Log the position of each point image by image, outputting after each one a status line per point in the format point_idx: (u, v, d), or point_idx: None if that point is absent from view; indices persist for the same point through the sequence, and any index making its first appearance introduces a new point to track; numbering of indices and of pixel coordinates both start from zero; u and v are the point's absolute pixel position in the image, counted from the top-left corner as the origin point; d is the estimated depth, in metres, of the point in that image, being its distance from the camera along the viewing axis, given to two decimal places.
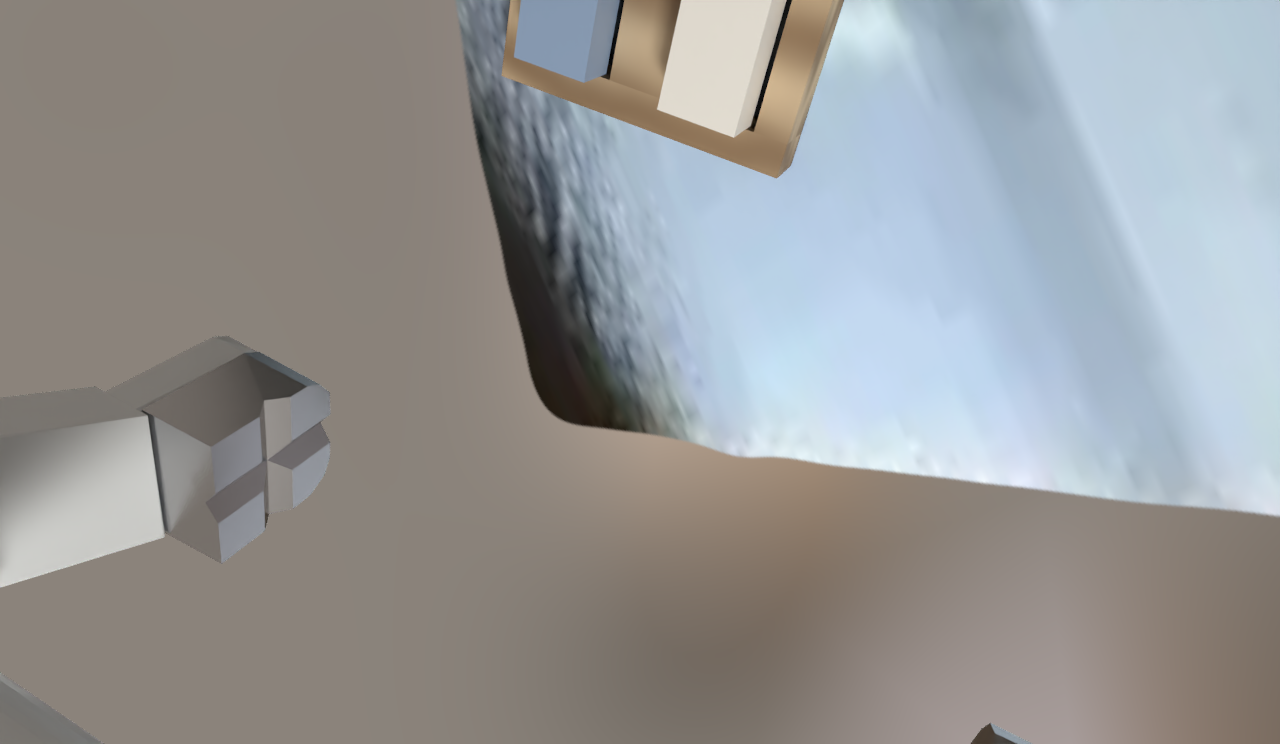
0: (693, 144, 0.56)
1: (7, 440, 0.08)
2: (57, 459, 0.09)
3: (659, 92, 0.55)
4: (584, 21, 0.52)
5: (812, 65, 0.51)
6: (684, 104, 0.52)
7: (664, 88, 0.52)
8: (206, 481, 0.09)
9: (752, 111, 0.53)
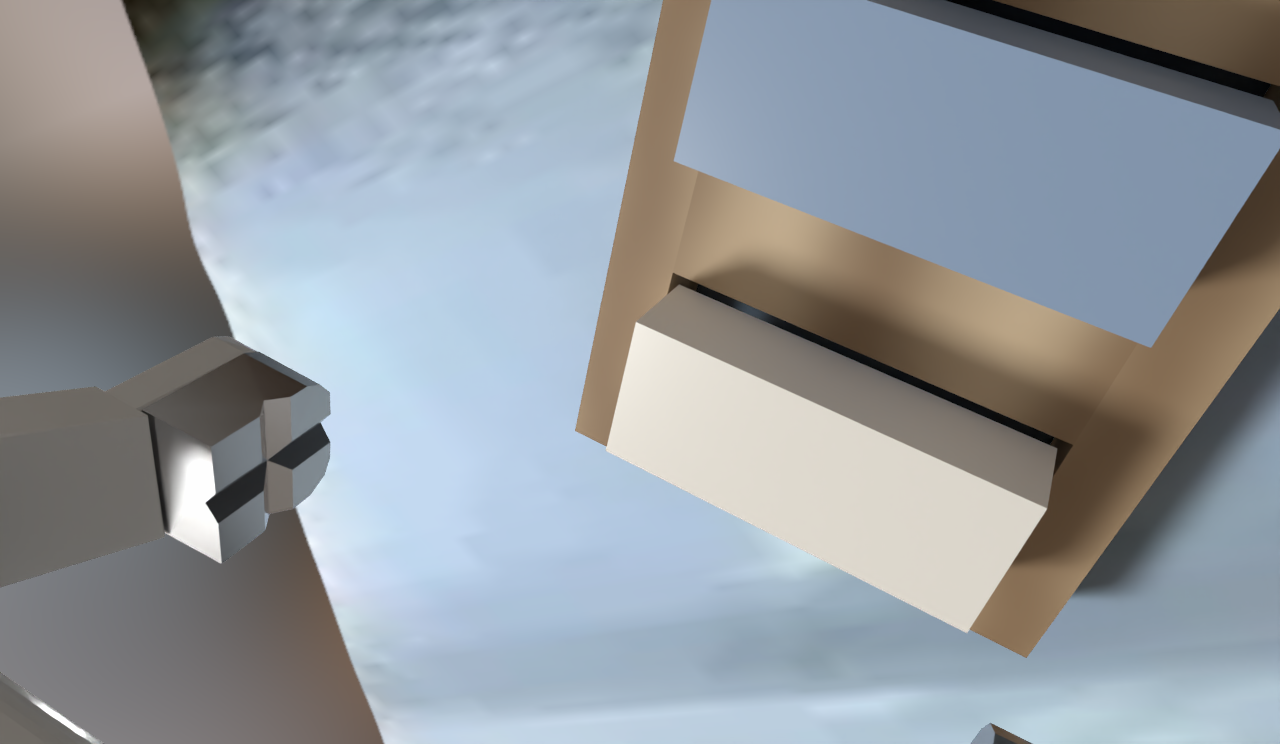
0: (606, 303, 0.30)
1: (5, 440, 0.08)
2: (57, 459, 0.09)
3: (688, 251, 0.27)
4: (802, 185, 0.22)
5: None
6: (650, 378, 0.26)
7: (674, 345, 0.25)
8: (207, 480, 0.09)
9: None
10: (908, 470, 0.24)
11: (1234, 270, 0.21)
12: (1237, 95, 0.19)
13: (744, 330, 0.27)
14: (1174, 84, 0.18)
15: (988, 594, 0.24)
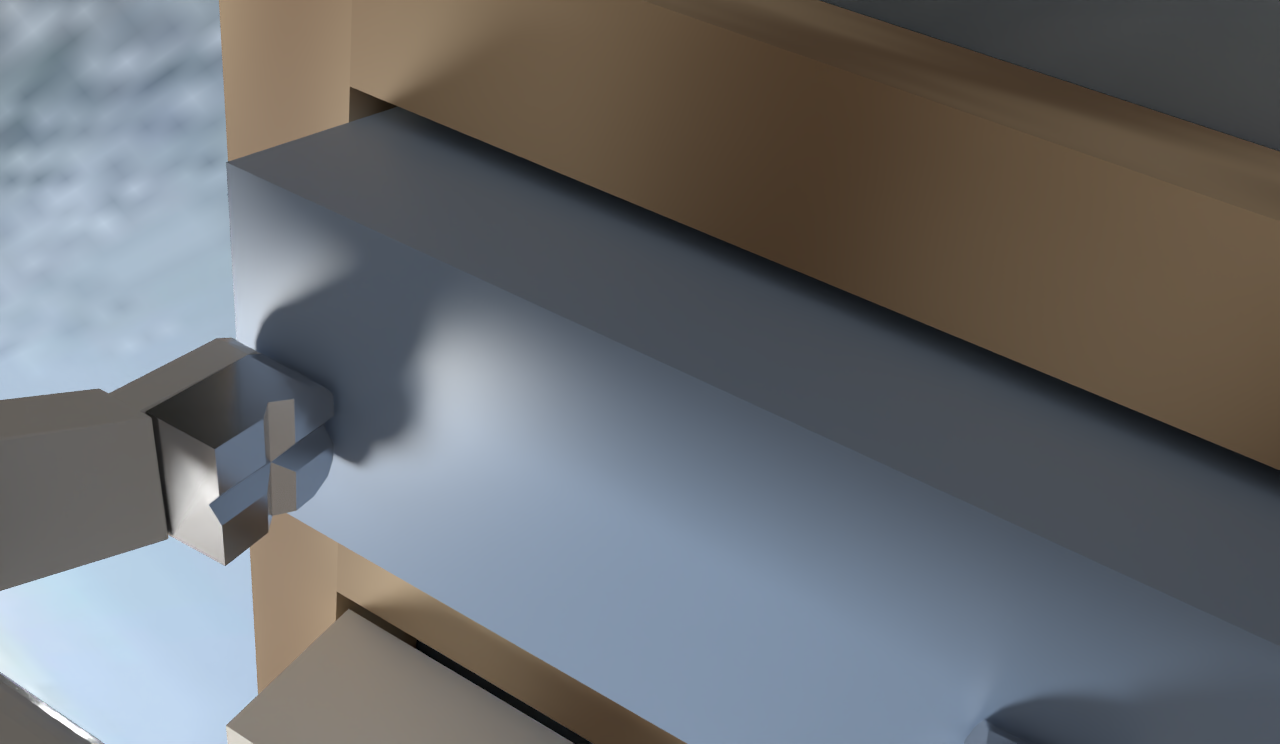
0: (259, 610, 0.19)
1: (10, 444, 0.08)
2: (61, 462, 0.09)
3: (351, 567, 0.17)
4: (447, 571, 0.11)
5: None
6: None
7: None
8: (211, 483, 0.09)
9: None
10: None
11: None
12: (1270, 499, 0.09)
13: (430, 717, 0.16)
14: (1138, 495, 0.08)
15: None
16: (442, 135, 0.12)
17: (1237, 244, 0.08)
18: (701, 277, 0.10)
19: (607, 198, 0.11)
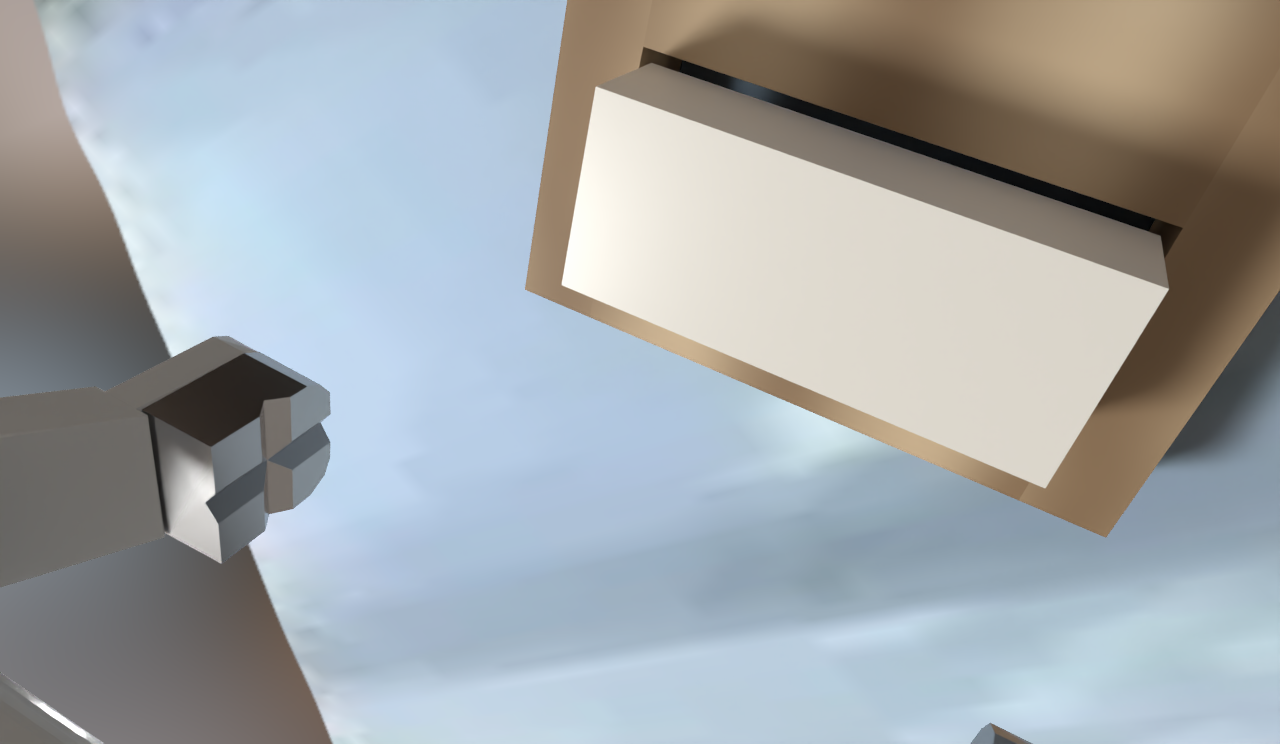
0: (558, 103, 0.23)
1: (7, 440, 0.08)
2: (57, 459, 0.09)
3: (663, 11, 0.21)
4: None
5: (739, 377, 0.25)
6: (617, 168, 0.20)
7: (648, 113, 0.19)
8: (207, 481, 0.09)
9: None
10: (970, 256, 0.17)
11: None
12: None
13: (739, 106, 0.20)
14: None
15: (1077, 429, 0.18)
16: None
17: None
18: None
19: None
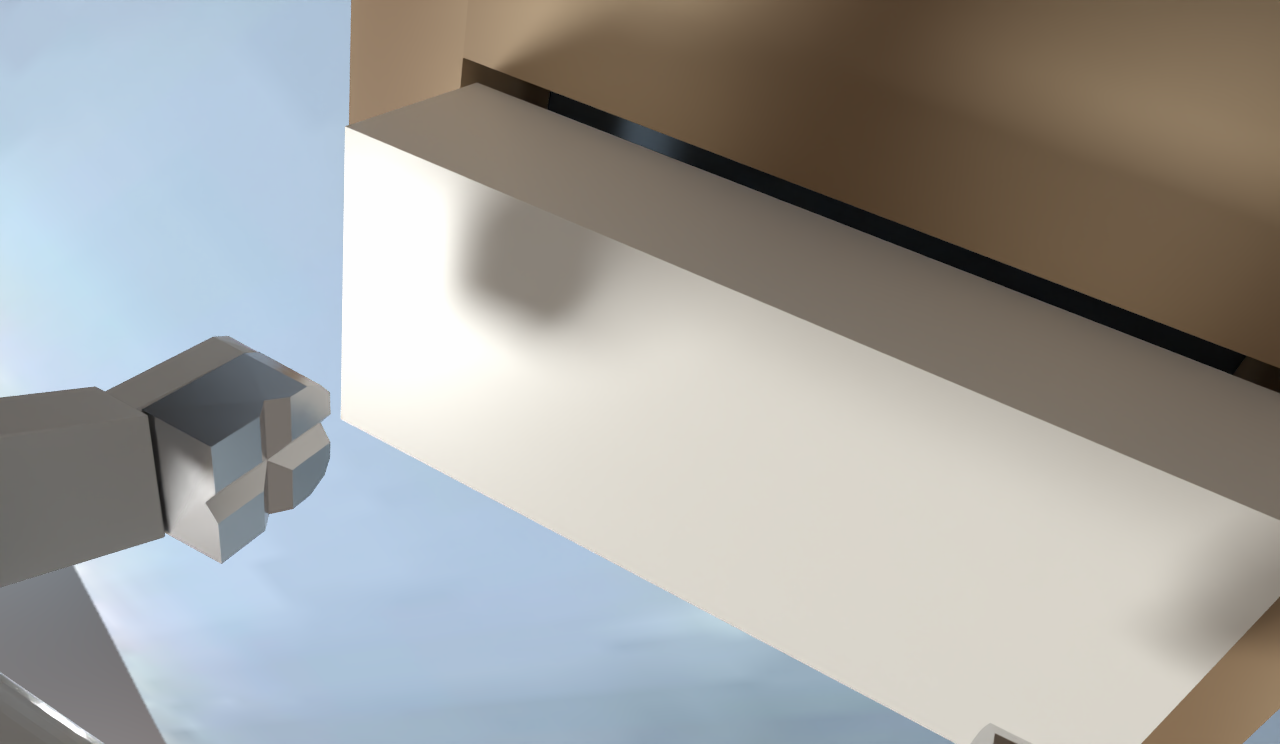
0: None
1: (6, 440, 0.08)
2: (57, 459, 0.09)
3: (487, 3, 0.13)
4: None
5: None
6: (392, 257, 0.12)
7: (427, 174, 0.11)
8: (207, 481, 0.09)
9: None
10: (957, 447, 0.10)
11: None
12: None
13: (595, 157, 0.12)
14: None
15: (1140, 734, 0.10)
16: None
17: None
18: None
19: None
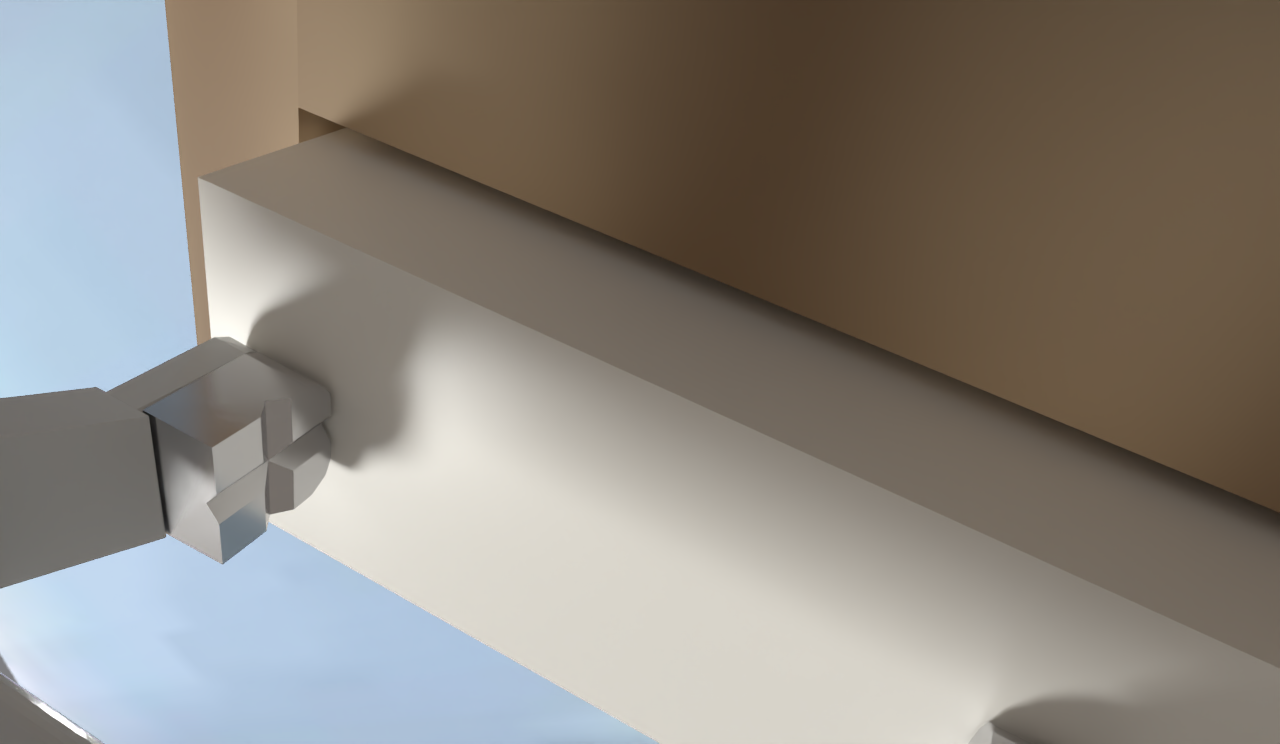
0: (191, 198, 0.13)
1: (7, 441, 0.08)
2: (58, 460, 0.09)
3: (319, 43, 0.11)
4: None
5: None
6: (261, 323, 0.11)
7: (290, 233, 0.10)
8: (208, 481, 0.09)
9: None
10: (901, 564, 0.08)
11: None
12: None
13: (496, 208, 0.11)
14: None
15: None
16: None
17: None
18: None
19: None
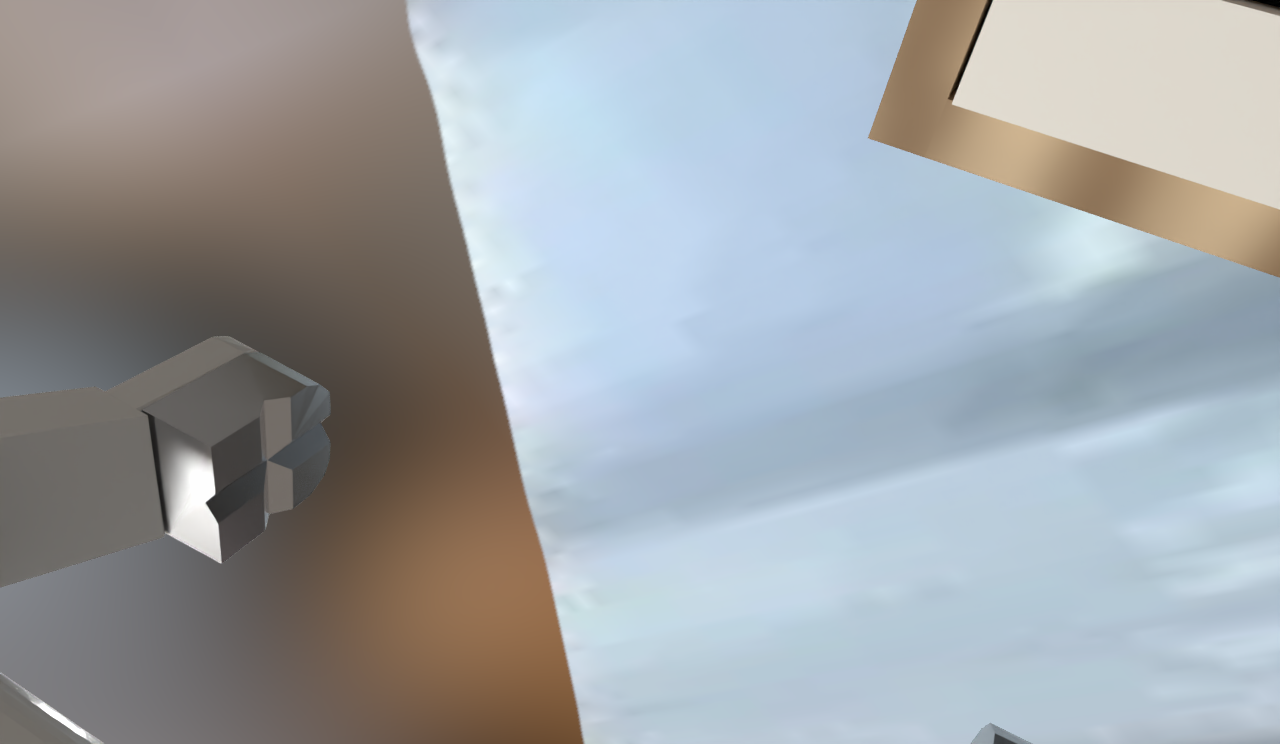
0: None
1: (5, 440, 0.08)
2: (57, 459, 0.09)
3: None
4: None
5: (1052, 198, 0.32)
6: (1020, 7, 0.28)
7: None
8: (207, 481, 0.09)
9: None
10: None
11: None
12: None
13: None
14: None
15: None
16: None
17: None
18: None
19: None
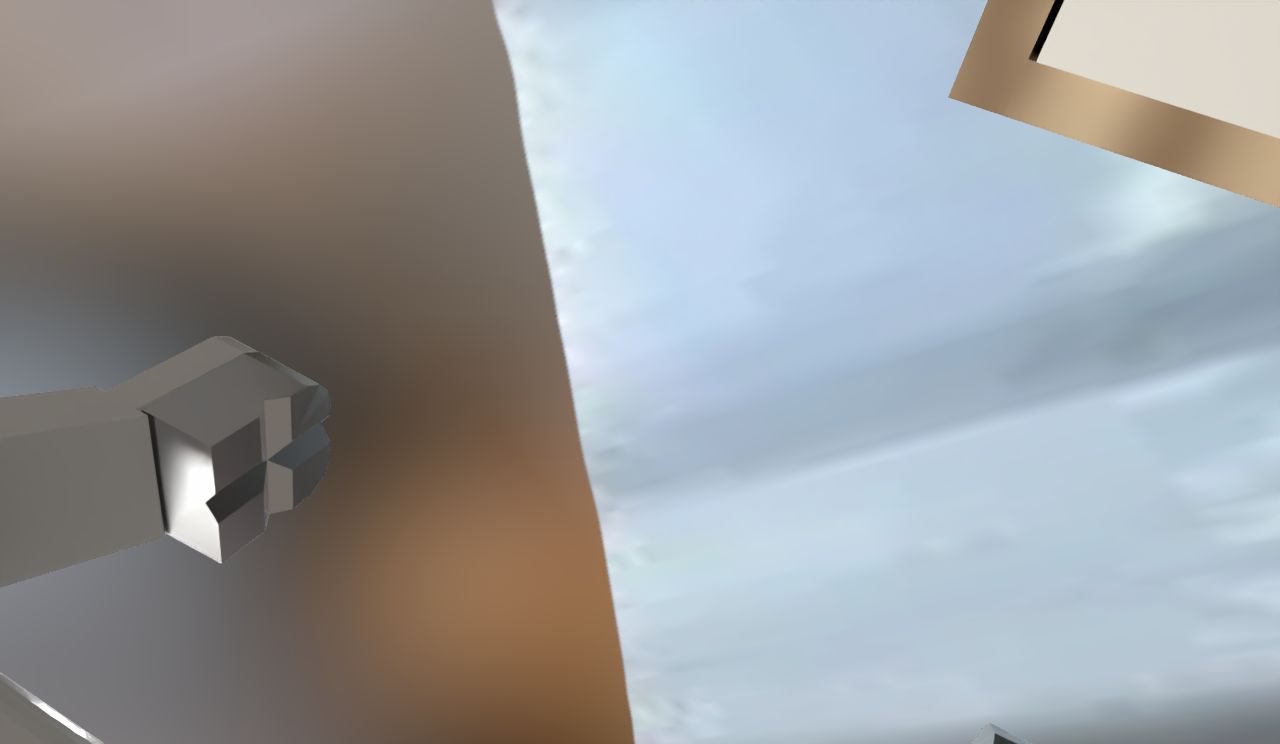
0: None
1: (5, 440, 0.08)
2: (57, 459, 0.09)
3: None
4: None
5: (1125, 154, 0.34)
6: None
7: None
8: (207, 480, 0.09)
9: None
10: None
11: None
12: None
13: None
14: None
15: None
16: None
17: None
18: None
19: None
